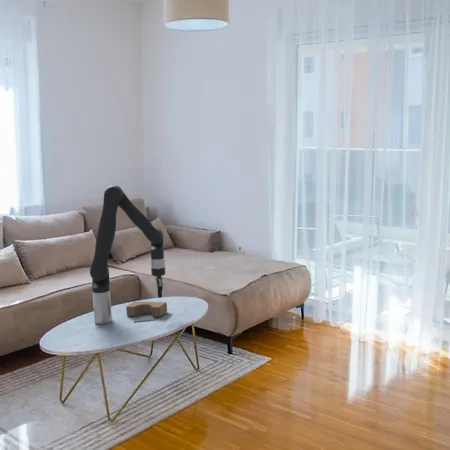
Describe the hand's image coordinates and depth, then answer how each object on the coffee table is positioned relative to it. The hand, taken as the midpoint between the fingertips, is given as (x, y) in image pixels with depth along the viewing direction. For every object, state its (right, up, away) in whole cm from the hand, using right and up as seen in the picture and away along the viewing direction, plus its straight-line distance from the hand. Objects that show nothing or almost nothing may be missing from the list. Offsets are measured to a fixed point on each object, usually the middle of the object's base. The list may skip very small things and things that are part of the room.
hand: (160, 297), depth 323 cm
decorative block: (+1, -8, +6) cm, 10 cm away
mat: (-9, -12, +4) cm, 15 cm away
